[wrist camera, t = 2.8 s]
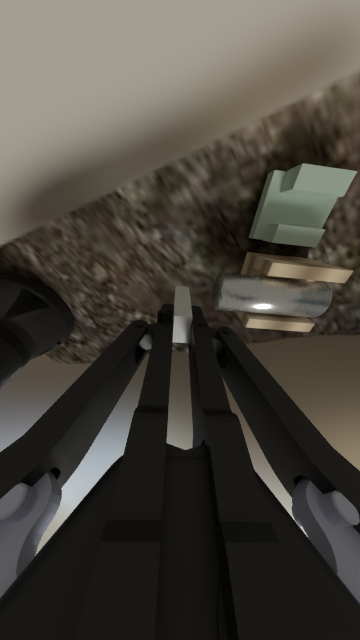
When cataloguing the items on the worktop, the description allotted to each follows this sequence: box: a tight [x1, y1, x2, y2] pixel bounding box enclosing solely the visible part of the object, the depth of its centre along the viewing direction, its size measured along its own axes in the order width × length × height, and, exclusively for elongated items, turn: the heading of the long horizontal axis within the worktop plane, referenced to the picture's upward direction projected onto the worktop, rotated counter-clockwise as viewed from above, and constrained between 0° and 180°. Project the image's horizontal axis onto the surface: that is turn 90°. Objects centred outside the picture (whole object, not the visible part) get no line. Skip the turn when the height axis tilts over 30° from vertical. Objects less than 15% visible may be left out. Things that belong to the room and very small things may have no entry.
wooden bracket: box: [235, 252, 353, 332], centre depth 23 cm, size 10×9×8 cm
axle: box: [212, 272, 332, 317], centre depth 21 cm, size 14×5×5 cm, turn 84°
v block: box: [249, 163, 357, 247], centre depth 19 cm, size 9×7×4 cm
